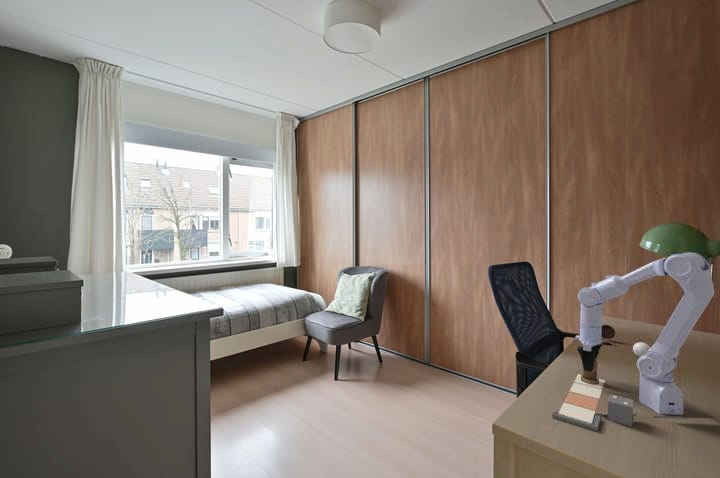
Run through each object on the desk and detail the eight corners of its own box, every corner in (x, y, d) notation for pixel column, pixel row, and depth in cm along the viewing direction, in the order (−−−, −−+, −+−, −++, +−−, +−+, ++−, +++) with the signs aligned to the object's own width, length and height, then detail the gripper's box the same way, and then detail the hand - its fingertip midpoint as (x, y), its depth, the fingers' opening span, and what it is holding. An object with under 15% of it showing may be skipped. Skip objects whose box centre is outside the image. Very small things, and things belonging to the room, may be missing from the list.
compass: (590, 342, 153) (591, 325, 153) (599, 338, 157) (600, 322, 157) (611, 347, 146) (611, 330, 146) (620, 344, 150) (620, 327, 150)
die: (631, 426, 89) (632, 407, 89) (607, 419, 92) (608, 400, 92) (632, 418, 93) (633, 399, 93) (609, 412, 96) (610, 393, 96)
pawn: (602, 384, 109) (602, 356, 109) (586, 384, 110) (586, 355, 110) (593, 378, 114) (593, 350, 114) (577, 377, 115) (578, 350, 114)
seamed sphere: (652, 357, 135) (652, 342, 135) (649, 361, 131) (650, 346, 131) (627, 351, 141) (628, 338, 140) (624, 355, 137) (625, 341, 137)
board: (597, 431, 87) (597, 426, 87) (552, 417, 94) (552, 412, 93) (610, 384, 112) (610, 380, 112) (573, 376, 119) (573, 372, 119)
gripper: (579, 317, 119) (578, 357, 120) (572, 327, 108) (571, 371, 109) (604, 321, 115) (603, 362, 116) (599, 332, 104) (598, 377, 104)
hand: (589, 367), depth 112 cm, fingers open, 7 cm apart
